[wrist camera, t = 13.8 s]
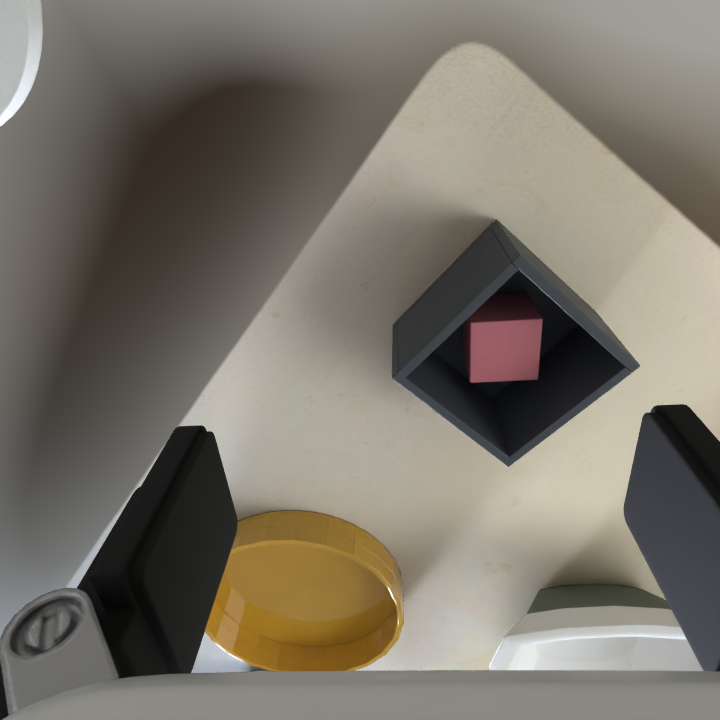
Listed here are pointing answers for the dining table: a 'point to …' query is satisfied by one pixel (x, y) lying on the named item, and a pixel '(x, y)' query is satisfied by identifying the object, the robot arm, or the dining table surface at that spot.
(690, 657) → the bowl
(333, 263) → the dining table surface
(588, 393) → the grey bin
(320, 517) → the yellow bowl
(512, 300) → the block
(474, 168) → the dining table surface
